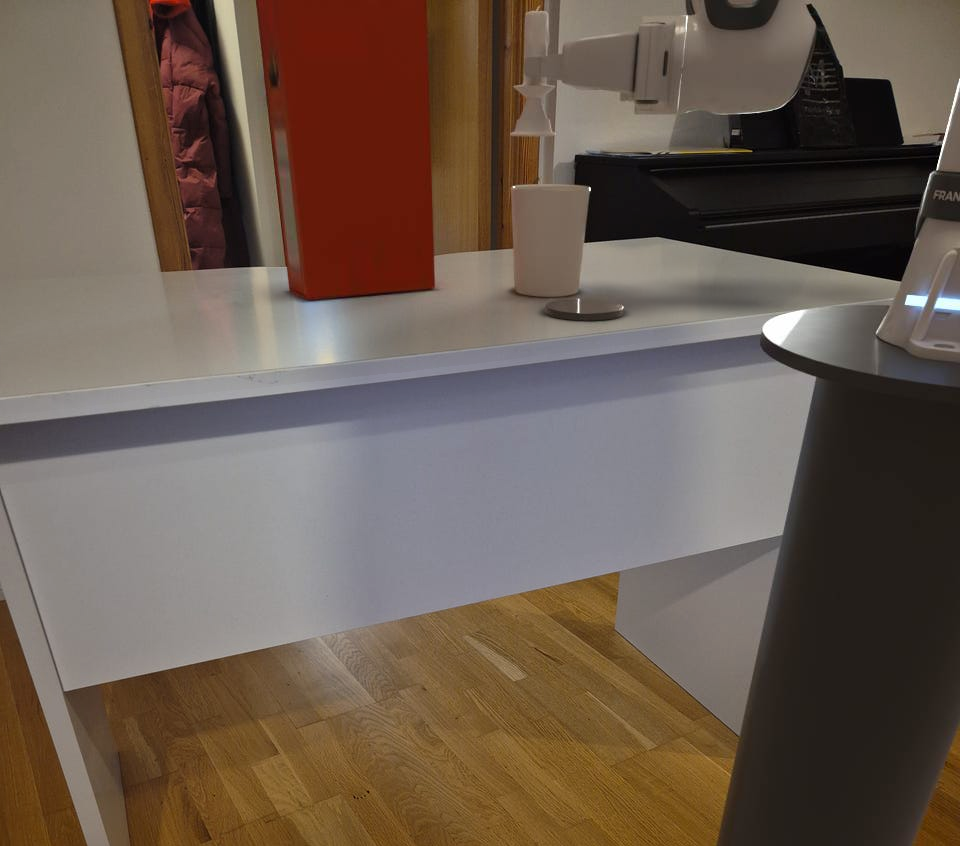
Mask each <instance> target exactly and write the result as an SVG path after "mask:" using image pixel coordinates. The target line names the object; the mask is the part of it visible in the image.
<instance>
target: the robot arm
mask: <svg viewBox="0 0 960 846" xmlns="http://www.w3.org/2000/svg"><path fill="white" fill-rule="evenodd" d="M684 1H685V2H684V3H685V11H686V14H685V15H684V14H683V15H644V16H642V18H641V23H640V24H639V26H638V30H626V31H623V32H622V31H621V32H612V33H605V34H597V35H591V36H584V37H583V36H582V37H579V38H574V39H570V40H567V41H564V42H563V44H562V48H561V49H562V50H561V51H562V52H561V53H554V54H547V55H546V56H537V57H527V58H526V59H525V61H524V60H523V68H524V73H525V75H526V76H527V77H546V80H553V81H561V83H562V84H564V85H566V86H569V87H571V88H574V89H576V90H581V91H586V90H587V91H607V92H608V91H609V92H616V93H619V100H620V102H633V104H634V111H633V113H634V115H639V116H640V115H683V114H686V113H689V112H693V111H704V112H709V113H711V114H713V115H741V114H754V113H755V114H756V113H763V112H764V113H765V112H770V111H773V110H777V109H780V108H782V107H784V106H785V105H787V103H789V102H790V101H791V100H792V99H793V98H794V96H795V95H796V94H797V92H798V91H799V90H800V88H801V86H802V85H803V81H804V79H805V77H806V75H807V72H808V69H809V67H810V64H811V60H812V57H813V53H814V50H815V46H816V39H817V24H816V21H815V20H814V18H813V17H812V15H811V13H810V11H809V9H808V7H807V4H806V1H805V0H684ZM953 99H954V100H953V103H952V107H951V111H950V114H949V119H948V123H947V126H946V129H945V130H946V131H945V135H944V138H943V142H942V145H941V150H940V154H939V159H938V162H937V166H936V170H935V169H934V170H933V171H931V172H930V173H929V177H928V180H927V185H926V187H925V189H924V191H923V194H922V197H921V201H920V205H919V209H918V213H917V216H916V217H917V218H916V222H915V231H914V236H913V237H914V238H915V242H914V246H913V249H912V251H911V254H910V257H909V260H908V263H907V265H906V268H905V271H904V272H903V273H904V274H903V276H902V279H901V281H900V283H899V286H898V288H897V290H896V293H895V295H894V298H893V299H892V302H891V304H890V305H891V306H890V308H889V310H888V312H887V314H886V316H885V317H884V319H883V321H882V323H881V325H880V326H879V328H878V330H877V332H876V335H877V336H878V337H879V338H880V339H882V340H884V341H886V342H888V343H890V344H893V345H895V346H898V347H901V348H903V349H905V350H906V351H907V352H908V353H909V354H911V355H912V356H915V357H918V358H923V359H930V360H939V361H947V362H955V363H960V79H959V80H958V84H957V87H956V91H955V95H954V98H953Z"/></svg>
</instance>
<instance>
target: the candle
mask: <svg viewBox="0 0 960 846" xmlns="http://www.w3.org/2000/svg"><path fill="white" fill-rule="evenodd" d="M540 8H541V5H539V6H538V7H537V8H536V9H535V10H531V11H527V12H525V15H524V26H523V27H524V28H523V29H524V30H523V32H524V33H523V62H524V61H525V59H526V58H527V57H537V56H546V55H548V48H549V44H550V41H551V40H550V39H551V38H550V30H549V29H550V28H549V22H550V21H549V19H550V18H549V13H548V11H545V10H539V9H540ZM522 80H523V81H522V84H519V85H513V88H514V89H515V90H516V91H517V92H519V94H521V96H523V97H524V98H525V104H524V106H523V109H522V112H521V114H520V116H519V118H518V119H516V123H515V128H514V131H512V132H510V133H509V136H510V137H556V136H557V133H556V132H554V131H553V129H552V124H551V123H552V122H551V119H549V118H548V116H547V113H546V111H545V108H544V107H545V106H544V103H543V98H544V97H545V96H546V95H548V94H549V93H550V92H552V90H554V89H555V88H556V86H555V85H551V84H547V79H546V77H527V76H526V75H525V73H524V67H523V72H522Z"/></svg>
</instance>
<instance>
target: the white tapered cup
mask: <svg viewBox="0 0 960 846" xmlns="http://www.w3.org/2000/svg"><path fill="white" fill-rule="evenodd" d="M590 194H591V186H589V185H588V186H587V185H581V184H580V185H579V184H561V183H560V184H559V183H558V184H556V183H549V184H548V183H538V184H536V183H535V184H518V185H517V184H516V185H511V187H510V196H511V197H510V199H511V226H512V227H511V228H512V232H511V233H512V260H513V261H512V262H513V263H512V264H513V265H512V266H513V285H514V291H515V292H516V293H517V294H519V295H523V296H528V297H539V298H540V297H541V298H556V297H568V296H571V295H575V294H577V293H578V292H579V288H580V282H581V281H580V280H581V273H582V264H583V256H584V255H583V254H584V248H585V247H584V245H585V237H586V229H587V228H586V227H587V219H588V211H589V202H590Z"/></svg>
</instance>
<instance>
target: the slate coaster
mask: <svg viewBox="0 0 960 846" xmlns="http://www.w3.org/2000/svg"><path fill="white" fill-rule="evenodd" d="M544 313H545V314H546V315H548V316H549V317H551V318H555V319H560V320H567V321H568V320H569V321H581V322H596V321H608V320H614V319H618V318H620V317H622V316H623V314H624V306H623V304H621V303H618V302H615V301H613V300H612V301H611V300H607V299H599V298H598V299H597V298H564V299H556V300H552V301H549V302H547V303H545V306H544Z"/></svg>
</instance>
